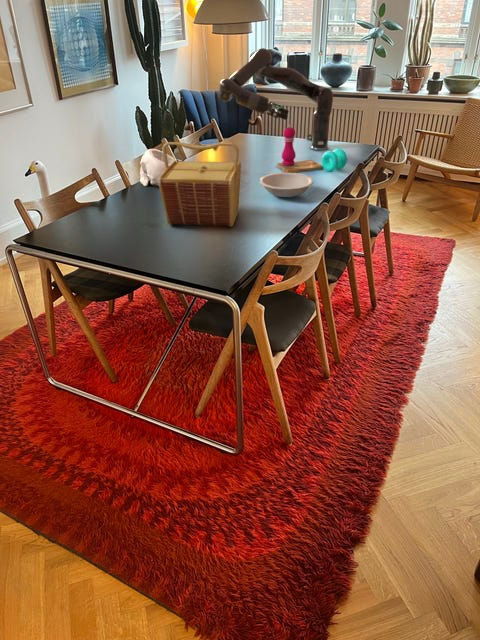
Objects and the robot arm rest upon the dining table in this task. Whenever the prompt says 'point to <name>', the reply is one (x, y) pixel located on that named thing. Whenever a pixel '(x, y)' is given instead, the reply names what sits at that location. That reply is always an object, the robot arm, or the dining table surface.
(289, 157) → the pepper mill
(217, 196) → the picnic basket
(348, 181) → the dining table surface
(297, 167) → the oak board
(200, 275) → the dining table surface
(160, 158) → the skull planter
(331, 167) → the turquoise spool
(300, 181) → the soup bowl
